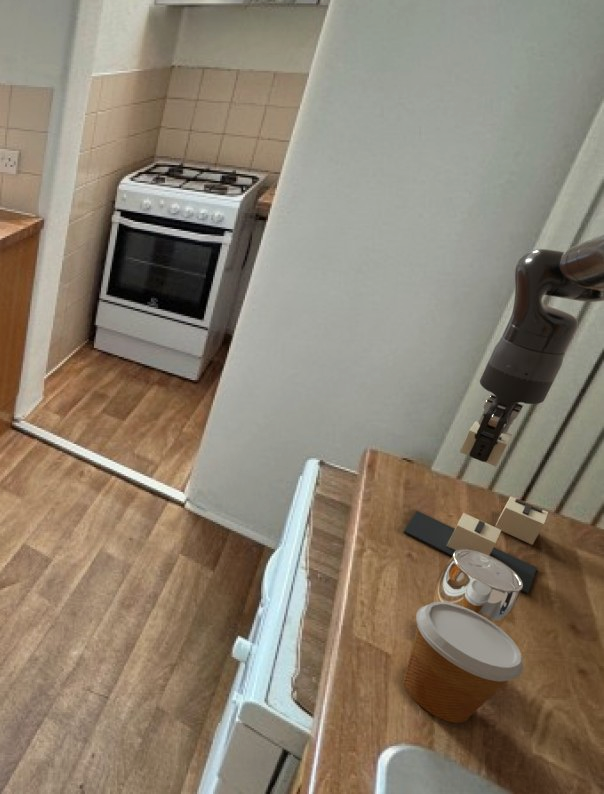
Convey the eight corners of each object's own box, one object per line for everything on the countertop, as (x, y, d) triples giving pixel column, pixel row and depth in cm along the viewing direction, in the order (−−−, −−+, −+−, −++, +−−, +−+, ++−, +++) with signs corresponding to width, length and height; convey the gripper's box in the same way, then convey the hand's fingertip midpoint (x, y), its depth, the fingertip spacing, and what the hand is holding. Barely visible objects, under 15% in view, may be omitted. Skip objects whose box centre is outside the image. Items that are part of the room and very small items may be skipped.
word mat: (536, 569, 97) (537, 567, 96) (527, 595, 92) (528, 593, 92) (416, 512, 108) (416, 510, 108) (403, 532, 103) (404, 530, 103)
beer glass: (406, 644, 84) (447, 565, 79) (416, 615, 89) (455, 539, 83) (474, 683, 79) (523, 602, 74) (481, 650, 84) (527, 572, 78)
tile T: (536, 532, 104) (549, 510, 102) (532, 545, 101) (545, 522, 99) (499, 516, 107) (511, 494, 105) (494, 527, 105) (506, 506, 103)
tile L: (502, 456, 103) (513, 433, 102) (496, 466, 101) (507, 442, 99) (466, 442, 107) (476, 419, 105) (459, 452, 104) (470, 428, 103)
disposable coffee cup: (369, 659, 82) (400, 596, 78) (440, 662, 82) (475, 600, 78) (428, 735, 73) (467, 669, 69) (508, 739, 73) (552, 674, 69)
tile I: (490, 551, 99) (502, 528, 98) (484, 564, 97) (496, 541, 95) (453, 533, 103) (464, 511, 101) (446, 546, 100) (457, 523, 98)
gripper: (547, 392, 91) (502, 482, 97) (562, 365, 99) (520, 449, 105) (479, 370, 97) (441, 456, 103) (499, 346, 104) (462, 427, 111)
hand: (481, 452), depth 104 cm, fingers closed on tile L, 4 cm apart
